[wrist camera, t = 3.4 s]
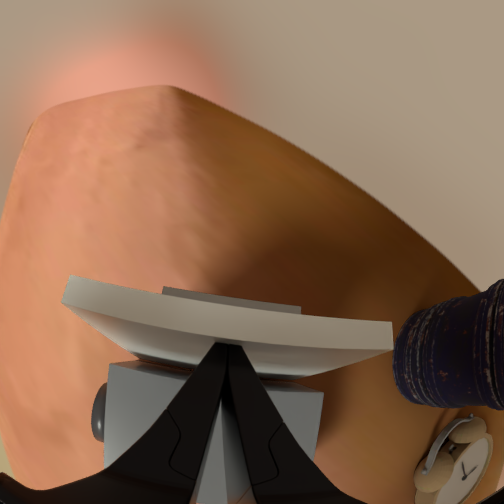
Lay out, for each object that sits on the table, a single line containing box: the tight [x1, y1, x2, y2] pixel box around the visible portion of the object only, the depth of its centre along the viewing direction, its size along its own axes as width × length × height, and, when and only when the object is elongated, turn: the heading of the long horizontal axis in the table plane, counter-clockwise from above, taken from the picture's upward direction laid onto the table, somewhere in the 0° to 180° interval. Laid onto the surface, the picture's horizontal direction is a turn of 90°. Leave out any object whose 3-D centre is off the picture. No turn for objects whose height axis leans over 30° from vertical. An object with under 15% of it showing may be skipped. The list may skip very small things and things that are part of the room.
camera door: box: [61, 275, 394, 380], centre depth 13 cm, size 2×11×12 cm, turn 83°
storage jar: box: [393, 279, 504, 410], centre depth 14 cm, size 10×10×15 cm
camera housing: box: [91, 360, 324, 504], centre depth 15 cm, size 8×13×6 cm, turn 83°
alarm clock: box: [414, 413, 493, 504], centre depth 16 cm, size 11×5×15 cm
